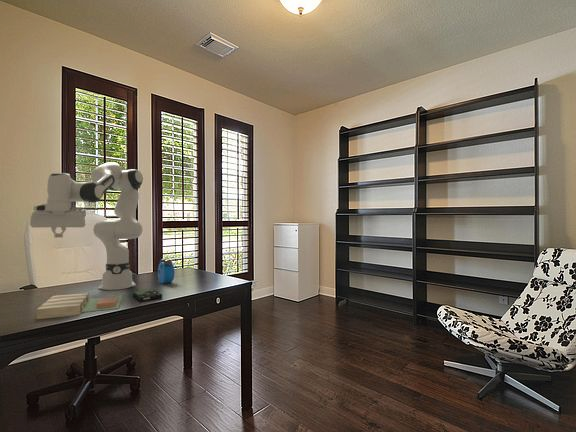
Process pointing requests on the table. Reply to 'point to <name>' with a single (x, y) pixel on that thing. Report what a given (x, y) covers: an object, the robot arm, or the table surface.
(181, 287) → the table surface
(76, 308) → the riser
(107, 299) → the orange flat block
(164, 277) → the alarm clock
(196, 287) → the table surface
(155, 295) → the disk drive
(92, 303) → the mat
